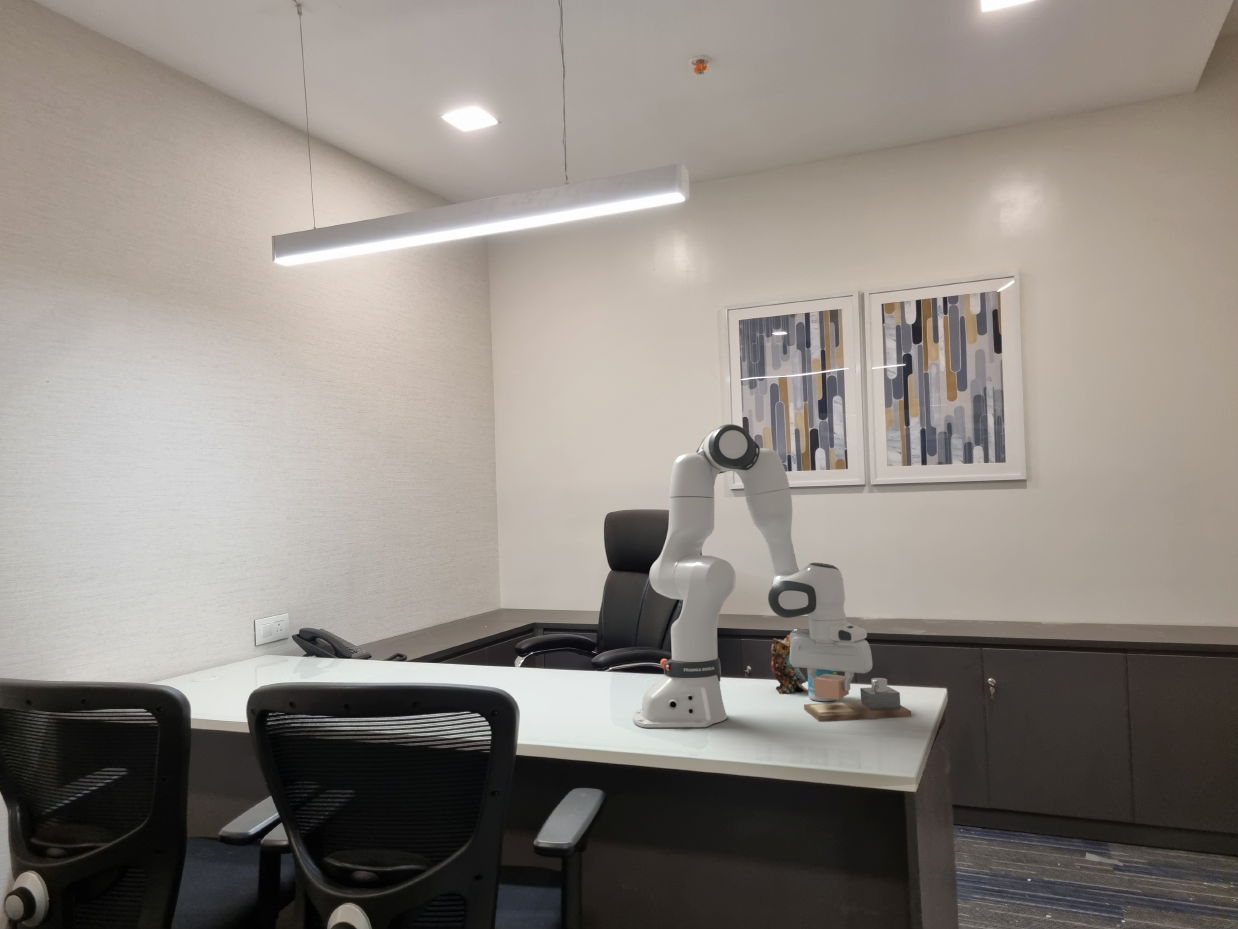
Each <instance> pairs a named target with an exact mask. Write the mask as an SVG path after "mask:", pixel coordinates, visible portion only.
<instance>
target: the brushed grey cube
mask: <svg viewBox="0 0 1238 929" xmlns="http://www.w3.org/2000/svg"><path fill="white" fill-rule="evenodd" d="M870 685H871V687H860V688H859V689H860V701H861V704H862V705H864V706H865V707H867V708H869V709H870V710H889V709H901V707H900V705H901V694H900V691H897V690H896V689H894V688H892V687H890V686H888V678H884V677H874V678H871V684H870Z"/></svg>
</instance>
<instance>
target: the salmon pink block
mask: <svg viewBox="0 0 1238 929" xmlns="http://www.w3.org/2000/svg"><path fill="white" fill-rule="evenodd" d="M846 678H847V676H845V675H838V674H837V675H832V674H823V675H821V676H819V677H817V678H814V681H815V696H817V697H825V698H832V699H836V700H840V699H843V698H844V697H846V696H848V695H849V693H850V692H849V691H850V690H849V691H844V690H842V689H841V688H842V686H841V683H843V682H845V680H846Z"/></svg>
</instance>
